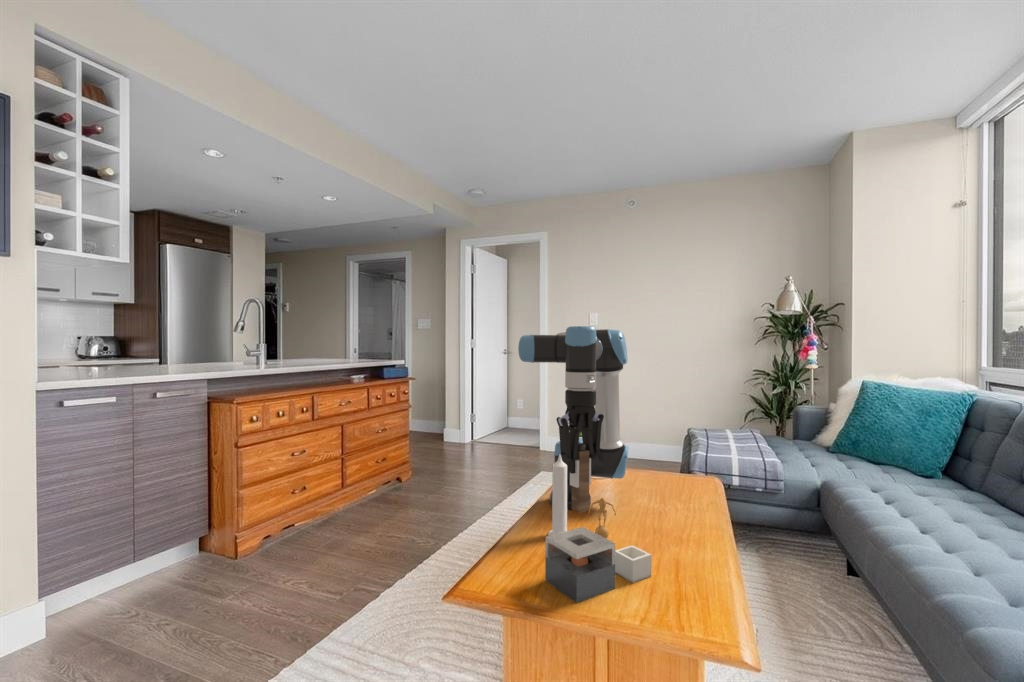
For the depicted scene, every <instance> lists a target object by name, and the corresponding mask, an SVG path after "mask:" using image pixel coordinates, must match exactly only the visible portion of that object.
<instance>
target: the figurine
mask: <svg viewBox="0 0 1024 682" xmlns="http://www.w3.org/2000/svg"><path fill="white" fill-rule="evenodd" d="M596 504H598V506H599V509H597V520H598V526H597V527H596V528H595V530H594V533H596V534H598V535H600V536H602V537H604V538H606V539H608V537H609V529H608V528H607V527H606V520H607V512H608V511H607V509H606V506H607V505H609V506H611V508H612V510H613V512H614V516H617V511H616V510H615V508H614V504H612V503H611V502H610V501H608V500H606V499H605V497H601V498H599V499H598V500H596V501H594V502H593V501H592V502H591V505H590V506H589V510H588V512H587V513H588V514H590V512H591V510H592V508H593V506H594V505H596ZM601 516H602V517H603V525H601V524H602V523H601V522H602V521H601Z"/></svg>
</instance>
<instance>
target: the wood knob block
mask: <svg viewBox="0 0 1024 682" xmlns="http://www.w3.org/2000/svg"><path fill="white" fill-rule="evenodd" d="M577 460H579V487H578V488H576V487H574V486H572V509H571V510H573V511H576V512H577V513H584V512H586V511H588V512H589V509H590V506H589V494H590V485H589V451H588V450H586V444H583V443H579V444H578V452H577Z"/></svg>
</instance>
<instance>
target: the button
mask: <svg viewBox="0 0 1024 682" xmlns="http://www.w3.org/2000/svg"><path fill="white" fill-rule="evenodd" d="M572 563H573V564H575V565H576V566H578V567H580V566H583V565H586V564H588V558H587V557H582V558H579V559H575V558H574V557H572Z"/></svg>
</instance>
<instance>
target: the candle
mask: <svg viewBox="0 0 1024 682" xmlns="http://www.w3.org/2000/svg"><path fill="white" fill-rule="evenodd" d="M551 480H552V484H551V485H552V489H551V492H552V504H551V507H552V509H551V510H552V515H551V516H552V518H551V521H552V522H551V524H552V525H551V527H552V529H551V530H549V531H548V532H547V536H550V535H553V534H557V533H561V532H565V531H568V509H567V465H566V464H565V463H564V462H563V461H562V458H561V455H560V454H559V457H558V460H557V462H556V463H555V462H553V464H552V479H551Z"/></svg>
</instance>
